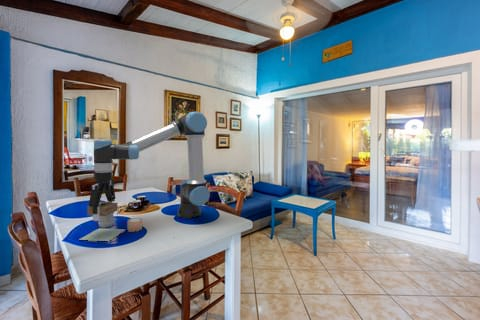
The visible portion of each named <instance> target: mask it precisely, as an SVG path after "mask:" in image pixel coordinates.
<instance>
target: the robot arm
mask: <svg viewBox="0 0 480 320" xmlns="http://www.w3.org/2000/svg"><path fill="white" fill-rule="evenodd" d="M207 125H208V119H207V118H206V116H205V115H204V114H203V113H202V112H199V111H190V112H188V113H185V114H184V115H182V116H181V117H179V118H177V119H175V120H173V121H171V123H170V124H168V125H165V126H163V127H161V128H158V129H156V130H154V131H151V132H148V133H146V134H145V135H144V134H143V135H142V136H140V137H136V138H135V139H133V140H130V141H128V142H125V143H122V144H116V143H113V141H112V139H111V140H110V139H94V141H93V171H94V172H93V180H94V181H96V182H95V184H91V185H90V194H89V200H88V201H89V203H88V206H89V207H92V208H93V215H92V222H93V221H95V222H99V221H100V207H98V206H99V202H101V199H102V195H103V194H104V195H105V198H106V200H107V201H106V202H110V203H113V202H115V201H116V193H115V192H116V191H115V186H114V185H115V184H114V183H115V181H114V180H112V179H113V172H112V171H113V160H131V161H132V160H138V159H139V157H140V152H143V151H145V150H147V149H149V148H151V147H154V146H156V145H159V144H161V143H163V142H165V141H167V140H171V138H174V137H177V136H178V137H181V136H183V135H184V137H185V138H186V140H187V162H188V163H187V164H188V179H184V180H183V179H182V180H181V181H180V185H179V186H180V204H179V207H178V209H177V217H179V218H181V217H183V218H182V219H193V218H192V217H195V218H197V217H196V216H199V215H200V214H201V215H202V209H201V206H202V205H205V204H206V203H207V202H208V201H209V199H210V196H211V193H210V189H209V188H208V187H207V186H208V185H207V183H208V182H207V180H206V179H205V177H204V176H205V174H204V154H203V153H204V150H203V146H204V145H203V138H204V137H205V133H206V132H205V129H206V128H207ZM109 215H112V213H111V214H109ZM201 215H200V216H201ZM200 216H199V217H200Z"/></svg>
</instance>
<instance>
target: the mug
mask: <svg viewBox="0 0 480 320" xmlns="http://www.w3.org/2000/svg"><path fill="white" fill-rule="evenodd" d="M114 214H115V212H114V213H112V215H107V216H100V221H97V223H98V228H110V227H112V225H113V226H114V224H115V219H114ZM109 226H110V227H109Z"/></svg>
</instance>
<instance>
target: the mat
mask: <svg viewBox="0 0 480 320" xmlns="http://www.w3.org/2000/svg"><path fill="white" fill-rule="evenodd" d="M125 231H126V228H125V229H124V228H122V229H121V228H106V227H98V229H95V230H93V231H92V232H90V233H88V234H86V235H85V236H83V237H80V238H79V239H78V241H79V240H88V241H87V242H97V241H108V242H107V243H109V242H111V241H113V240H114V239H115V238H116V236H117V237H118V236H119V234H120V233H121V234H122V233H124V232H125ZM121 234H120V235H121ZM113 238H114V239H113ZM110 240H111V241H110Z"/></svg>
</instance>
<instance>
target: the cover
mask: <svg viewBox="0 0 480 320" xmlns="http://www.w3.org/2000/svg"><path fill="white" fill-rule="evenodd" d="M98 207H100V216H107V215H109V214H111V213H114V214H115V212H117V211H118V202H112V203H110V202H107V201H105V202H104V201H100V202H99V206H98ZM87 216H93V208H92V207H89V205H88V206H87Z"/></svg>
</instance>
